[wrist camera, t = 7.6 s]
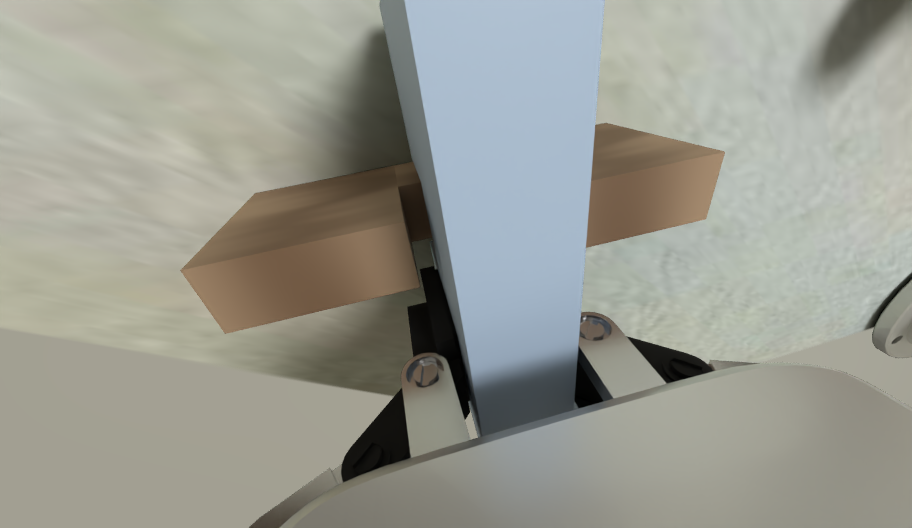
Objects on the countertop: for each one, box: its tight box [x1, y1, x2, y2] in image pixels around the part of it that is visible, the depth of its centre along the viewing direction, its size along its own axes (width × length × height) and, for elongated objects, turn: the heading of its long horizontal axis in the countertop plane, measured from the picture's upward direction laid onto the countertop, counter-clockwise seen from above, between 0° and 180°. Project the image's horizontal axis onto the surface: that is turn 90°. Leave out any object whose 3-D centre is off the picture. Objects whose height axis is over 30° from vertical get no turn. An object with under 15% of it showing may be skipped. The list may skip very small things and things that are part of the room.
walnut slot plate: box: [180, 123, 725, 334], centre depth 11 cm, size 14×2×6 cm, turn 98°
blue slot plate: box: [380, 0, 605, 438], centre depth 10 cm, size 12×2×8 cm, turn 8°
